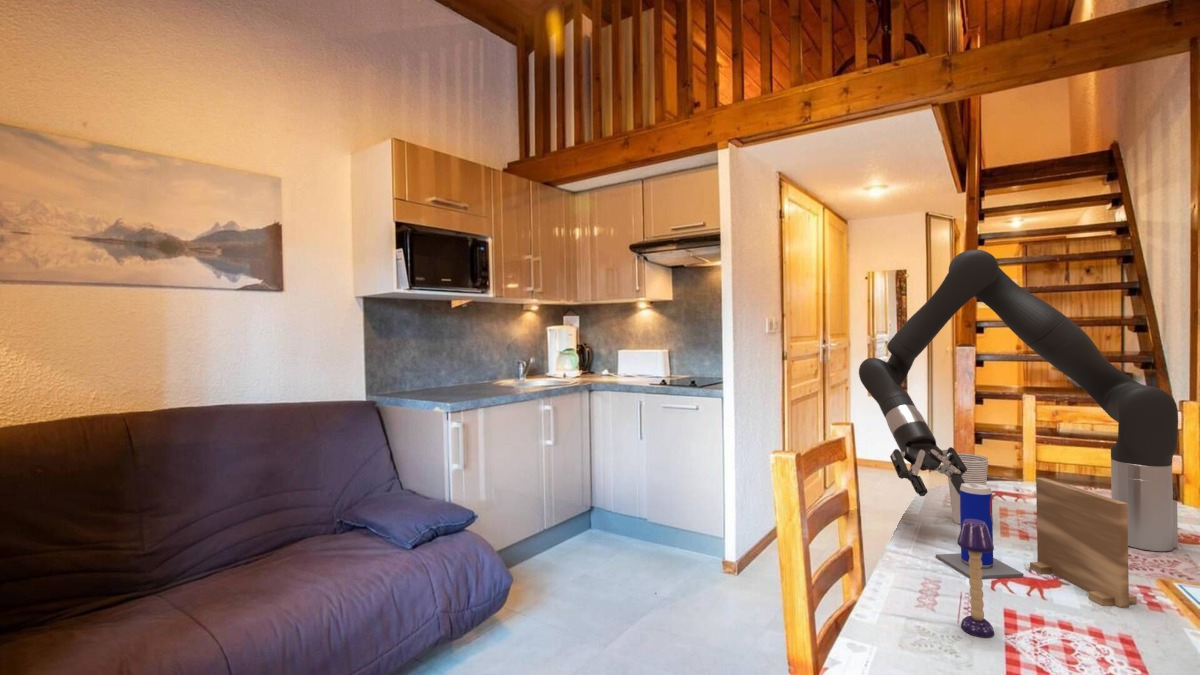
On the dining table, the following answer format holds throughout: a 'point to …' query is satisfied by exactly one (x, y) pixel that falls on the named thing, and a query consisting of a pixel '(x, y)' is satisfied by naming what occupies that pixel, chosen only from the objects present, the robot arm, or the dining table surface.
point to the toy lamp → (976, 574)
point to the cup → (968, 479)
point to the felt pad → (993, 571)
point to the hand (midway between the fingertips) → (943, 493)
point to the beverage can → (977, 513)
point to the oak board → (1083, 541)
